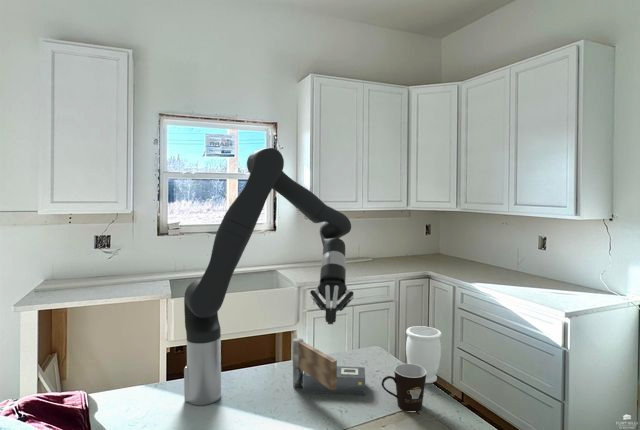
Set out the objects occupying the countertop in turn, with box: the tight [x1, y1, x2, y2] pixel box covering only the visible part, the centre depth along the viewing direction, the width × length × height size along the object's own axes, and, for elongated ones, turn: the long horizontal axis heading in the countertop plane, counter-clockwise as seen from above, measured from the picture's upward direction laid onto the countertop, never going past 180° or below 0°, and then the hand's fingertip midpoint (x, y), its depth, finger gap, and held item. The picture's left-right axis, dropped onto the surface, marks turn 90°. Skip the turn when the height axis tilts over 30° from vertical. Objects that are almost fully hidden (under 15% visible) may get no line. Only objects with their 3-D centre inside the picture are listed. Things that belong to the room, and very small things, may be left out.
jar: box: [405, 325, 442, 384], centre depth 123 cm, size 11×10×15 cm
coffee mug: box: [381, 362, 427, 413], centre depth 107 cm, size 12×9×10 cm
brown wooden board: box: [292, 338, 338, 391], centre depth 111 cm, size 20×3×8 cm, turn 35°
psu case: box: [302, 365, 366, 396], centre depth 116 cm, size 18×7×5 cm, turn 85°
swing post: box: [292, 366, 304, 389], centre depth 118 cm, size 3×3×6 cm
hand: (330, 322), depth 106 cm, fingers closed
